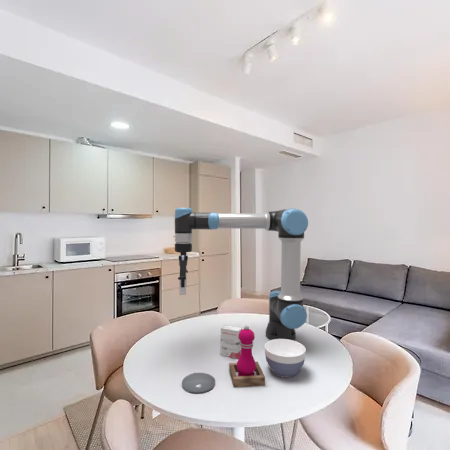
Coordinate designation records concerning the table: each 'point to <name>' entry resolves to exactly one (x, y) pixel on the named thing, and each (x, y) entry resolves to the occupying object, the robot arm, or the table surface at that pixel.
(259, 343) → the table surface
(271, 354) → the bowl
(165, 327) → the table surface
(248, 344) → the pepper mill
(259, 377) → the collar
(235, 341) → the ink box
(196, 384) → the coaster
